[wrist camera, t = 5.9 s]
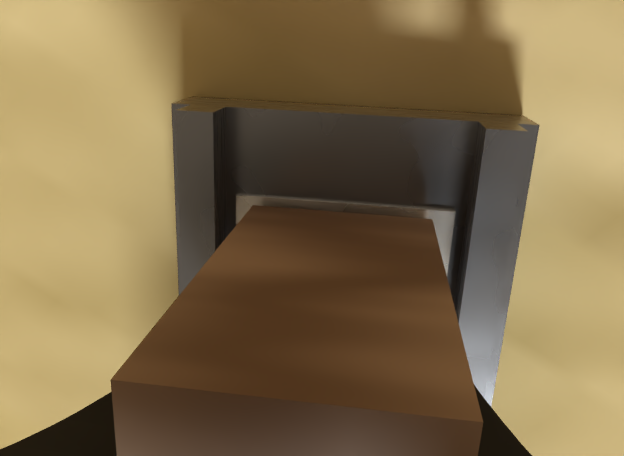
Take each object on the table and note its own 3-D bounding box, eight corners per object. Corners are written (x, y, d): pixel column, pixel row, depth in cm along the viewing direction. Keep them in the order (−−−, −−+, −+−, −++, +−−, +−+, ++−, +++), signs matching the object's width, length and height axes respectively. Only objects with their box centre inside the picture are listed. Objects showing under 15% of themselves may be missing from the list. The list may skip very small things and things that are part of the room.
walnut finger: (432, 219, 12) (482, 422, 6) (407, 432, 14) (424, 772, 8) (253, 204, 13) (110, 379, 6) (250, 414, 15) (138, 721, 8)
